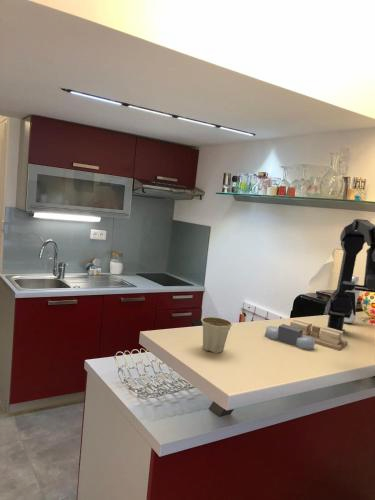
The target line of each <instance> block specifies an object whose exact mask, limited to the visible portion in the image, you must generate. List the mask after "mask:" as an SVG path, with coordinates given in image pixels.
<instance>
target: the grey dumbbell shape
mask: <svg viewBox="0 0 375 500" xmlns="http://www.w3.org/2000/svg"><path fill="white" fill-rule="evenodd" d="M302 332H303V329H299V328H296V327H292V326H290V324H289V325H288V324H285V323H282V324H280V325H278V326H272V325H269V326H266V327H265V333H264V337H265V338H266V339H269V340H273V341H279V342H281V343H283V344H284V343H285V344H288V345H291V346H294V347H297V349H301V350H305V351H312V350H313V351H314V349H315V344H316V343H315V339H314V338H312V337H309V336H305V335H302Z"/></svg>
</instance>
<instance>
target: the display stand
mask: <svg viewBox="0 0 375 500" xmlns="http://www.w3.org/2000/svg"><path fill="white" fill-rule="evenodd" d="M289 326H292V327H296V328H299V329H303V332H302V335H305V336H309V337H312V338H314V339H315V343H314V344H316V345H320V346H323V347H327V348H330V349H333V350H335V351H336V350H338V351H340V350H342V349H343V348H344V347H345V346H346V345H348V340H344V339H343V334H344V332H343V331H339V330H336V329H332V328H328V327H327V326H325V327H324V328H322V329H321V326H319V325H315V324H314V325H313V322H309V321H305V320H303V319H298V318H295V319H293V320H292V321H290V323H289Z"/></svg>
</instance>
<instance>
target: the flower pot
mask: <svg viewBox="0 0 375 500" xmlns="http://www.w3.org/2000/svg"><path fill="white" fill-rule="evenodd" d="M200 321H201V326H202V348H203V349H204V350H205V351H210V352H212V353H221V352H223V351H224V348H225V345H226V342H227V338H228V334H229V331H230V330H231V327H232V326H233V323H232V321H230V320H228V319H225V318H222V317H217V316H216V317H215V316H205V317H202V318H201V319H200Z"/></svg>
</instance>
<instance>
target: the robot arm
mask: <svg viewBox="0 0 375 500" xmlns="http://www.w3.org/2000/svg"><path fill="white" fill-rule="evenodd" d="M339 239H340V240H339V241H340V247H341V250H342V251H343V254H342V259H341V265H340V270H339V276H338V281H337V286H336V289H335V290H334V291H333V292H332V293H331V295H330V299H329V300H328V302H327V304H325V307H324V313H325V314H326V316H328V320H327V326H326V327H328V328H332V329H336V330H339V331H343V333H345V332H346V329H344V324H345V322H344V319H345V317H346V318H350V316H351V313H352V310H353V314H354V316H355V313H357V304H355V293H354V291H355V290H358V291H360V292H367V293H375V224H374V223H372V222H371V221H370V220H368V219H361V218H356V219H354V220H353V221H352V222H351V223H350V224H347V225H346V226H344V227H343V229H342V231H341V232H340V238H339ZM364 244H366V245H367V246H368V247H369V248H367V249H366V259H365V261H366V262H365V270H364V280H363V285H362V284H361V285H360V284H358V285H355V282H352V276H354V272H355V271H354V270H355V265H356V261H357V255H358V254H359V253H360V252H361V251H362V250H363V248H364Z"/></svg>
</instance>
